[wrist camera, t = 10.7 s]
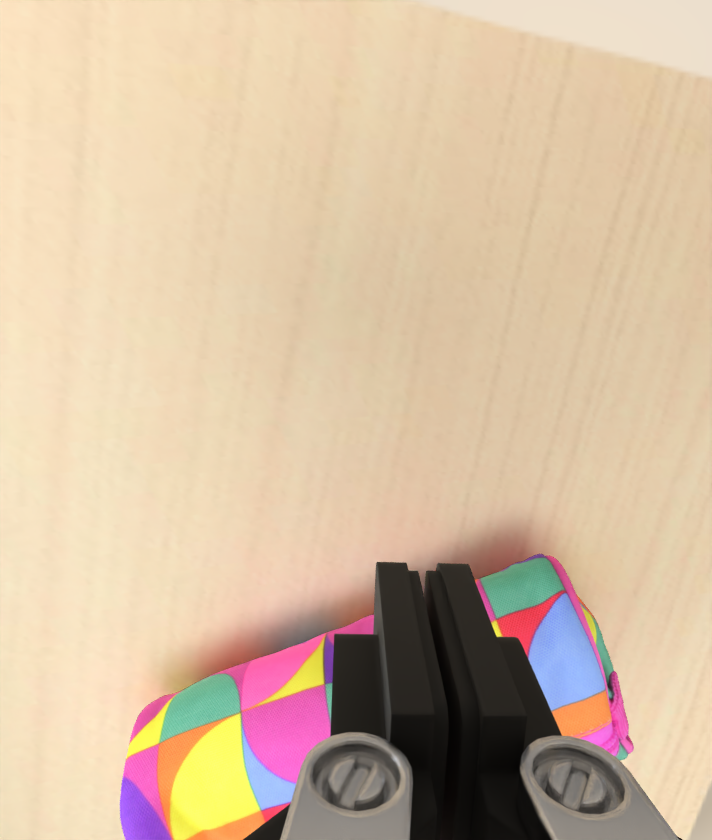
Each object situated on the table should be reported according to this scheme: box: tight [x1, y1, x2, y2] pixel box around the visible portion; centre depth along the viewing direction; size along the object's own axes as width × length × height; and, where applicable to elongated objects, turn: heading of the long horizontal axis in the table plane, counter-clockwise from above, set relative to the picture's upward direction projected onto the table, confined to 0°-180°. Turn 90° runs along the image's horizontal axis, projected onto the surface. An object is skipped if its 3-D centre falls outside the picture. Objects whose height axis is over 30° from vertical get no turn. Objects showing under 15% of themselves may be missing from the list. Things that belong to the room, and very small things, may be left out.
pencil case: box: [120, 554, 634, 840], centre depth 28 cm, size 22×9×9 cm, turn 115°
